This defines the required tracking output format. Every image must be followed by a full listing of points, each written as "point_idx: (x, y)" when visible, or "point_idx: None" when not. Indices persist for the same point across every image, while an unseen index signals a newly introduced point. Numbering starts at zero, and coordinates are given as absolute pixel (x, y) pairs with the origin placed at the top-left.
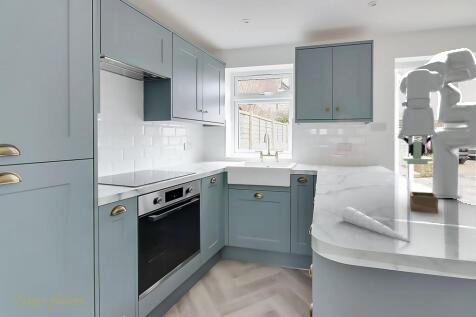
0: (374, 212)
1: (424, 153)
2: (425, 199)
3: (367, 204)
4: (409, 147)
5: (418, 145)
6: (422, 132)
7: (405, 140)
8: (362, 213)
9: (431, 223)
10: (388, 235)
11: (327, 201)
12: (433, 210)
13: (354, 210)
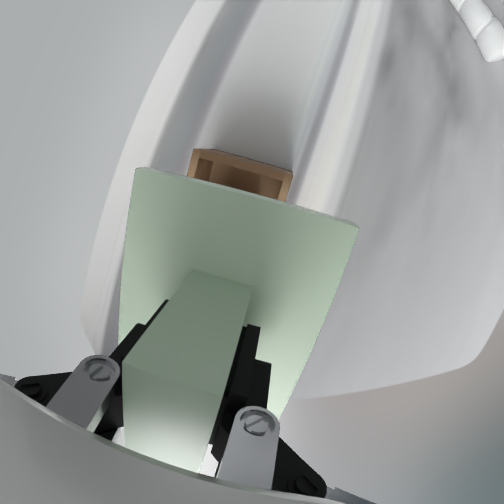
0: (415, 160)
1: (143, 326)
2: (240, 159)
3: (393, 300)
4: (264, 396)
5: (179, 340)
6: (38, 450)
7: (305, 471)
8: (476, 4)
9: (281, 27)
10: None
11: (486, 324)
12: (221, 152)
13: (495, 22)
